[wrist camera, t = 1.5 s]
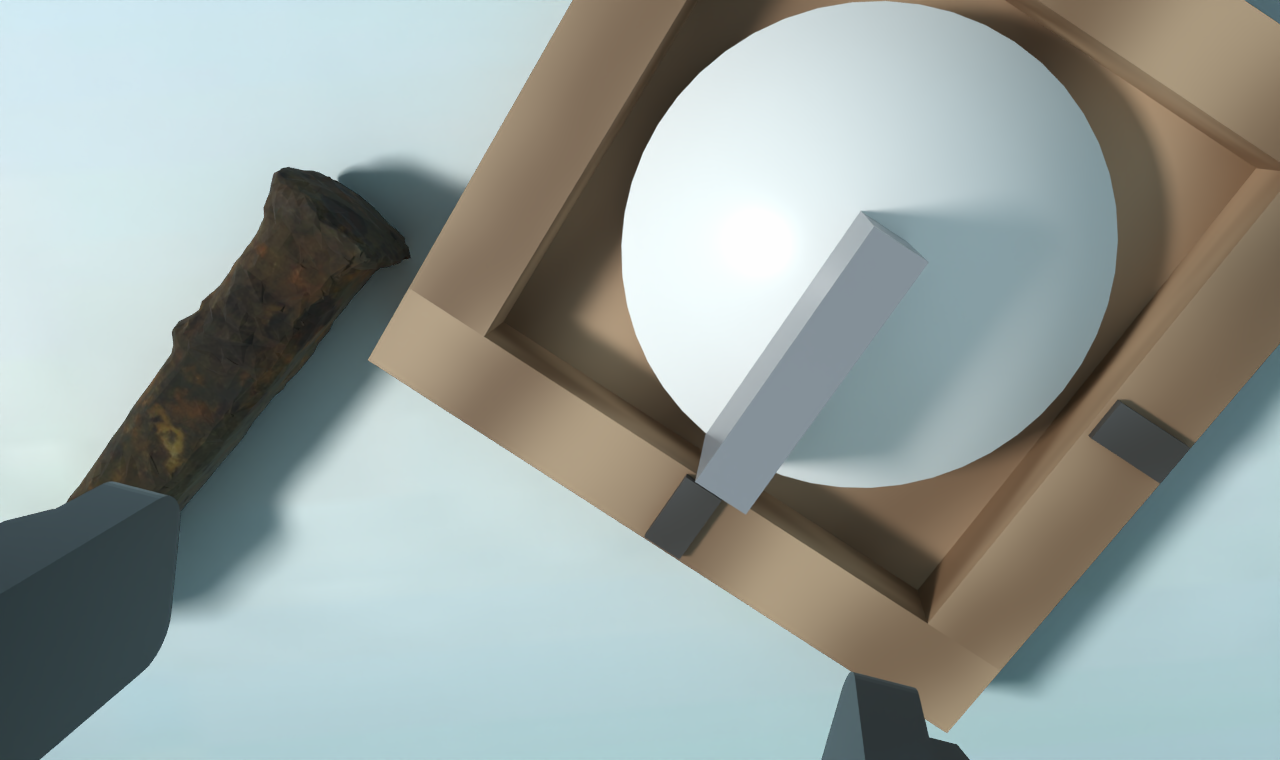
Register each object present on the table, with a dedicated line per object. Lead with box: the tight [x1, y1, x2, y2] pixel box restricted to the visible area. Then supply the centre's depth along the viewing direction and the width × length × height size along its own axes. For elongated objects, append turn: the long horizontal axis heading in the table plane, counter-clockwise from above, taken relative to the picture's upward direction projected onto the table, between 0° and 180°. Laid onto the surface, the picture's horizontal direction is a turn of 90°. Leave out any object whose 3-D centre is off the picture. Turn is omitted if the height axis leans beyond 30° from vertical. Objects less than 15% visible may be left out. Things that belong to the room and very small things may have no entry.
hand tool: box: [67, 167, 411, 511], centre depth 32 cm, size 19×4×5 cm, turn 137°
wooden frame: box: [368, 0, 1280, 733], centre depth 29 cm, size 20×20×3 cm
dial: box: [621, 1, 1118, 515], centre depth 27 cm, size 13×13×6 cm
